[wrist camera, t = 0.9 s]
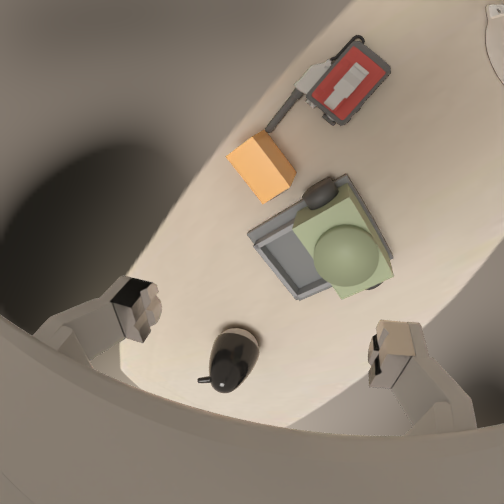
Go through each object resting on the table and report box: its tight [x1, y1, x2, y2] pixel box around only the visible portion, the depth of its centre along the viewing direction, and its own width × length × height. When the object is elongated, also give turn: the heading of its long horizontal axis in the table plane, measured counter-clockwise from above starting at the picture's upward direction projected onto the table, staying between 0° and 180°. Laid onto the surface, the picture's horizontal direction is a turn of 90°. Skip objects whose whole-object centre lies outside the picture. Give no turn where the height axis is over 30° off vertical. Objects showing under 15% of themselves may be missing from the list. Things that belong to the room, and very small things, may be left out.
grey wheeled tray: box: [247, 174, 394, 301], centre depth 43 cm, size 19×18×9 cm
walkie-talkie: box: [265, 35, 391, 133], centre depth 32 cm, size 9×4×20 cm
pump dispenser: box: [198, 328, 259, 393], centre depth 58 cm, size 10×10×15 cm
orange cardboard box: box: [226, 130, 296, 204], centre depth 39 cm, size 4×8×7 cm, turn 39°
